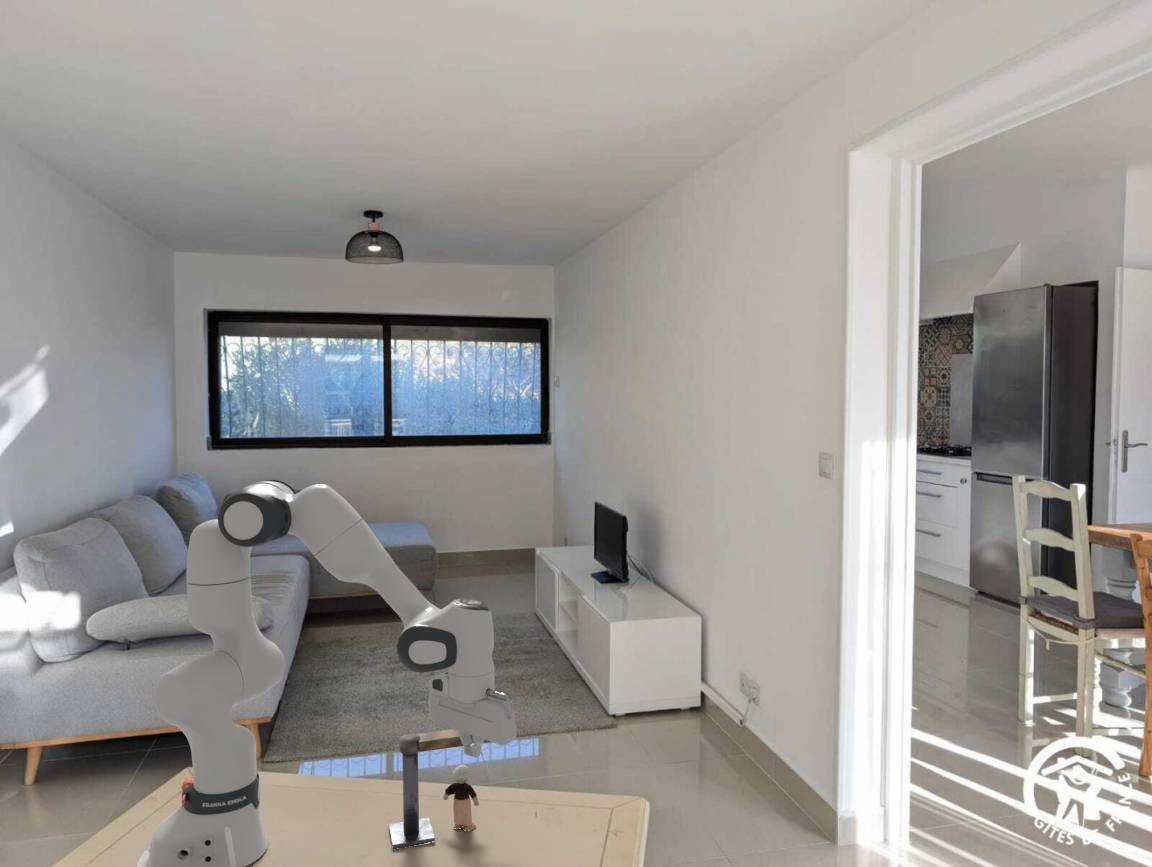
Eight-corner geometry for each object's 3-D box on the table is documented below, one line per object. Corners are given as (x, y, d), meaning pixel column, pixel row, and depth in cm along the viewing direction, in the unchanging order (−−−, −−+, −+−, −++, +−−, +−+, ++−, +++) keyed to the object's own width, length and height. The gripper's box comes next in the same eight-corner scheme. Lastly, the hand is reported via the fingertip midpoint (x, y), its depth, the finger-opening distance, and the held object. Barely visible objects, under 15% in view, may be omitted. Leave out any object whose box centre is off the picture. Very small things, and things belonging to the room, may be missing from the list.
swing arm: (400, 755, 159) (400, 743, 159) (398, 747, 163) (398, 735, 162) (504, 741, 165) (504, 729, 165) (499, 733, 169) (499, 721, 169)
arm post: (392, 849, 157) (391, 763, 156) (388, 828, 165) (387, 746, 164) (434, 842, 160) (433, 757, 159) (428, 822, 167) (427, 740, 166)
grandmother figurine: (482, 823, 167) (481, 762, 166) (478, 833, 163) (477, 770, 162) (445, 821, 168) (444, 760, 167) (440, 831, 164) (439, 769, 163)
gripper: (523, 690, 154) (524, 763, 154) (446, 669, 166) (447, 736, 167) (500, 701, 149) (501, 775, 149) (423, 678, 161) (424, 747, 162)
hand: (472, 754), depth 158 cm, fingers closed
